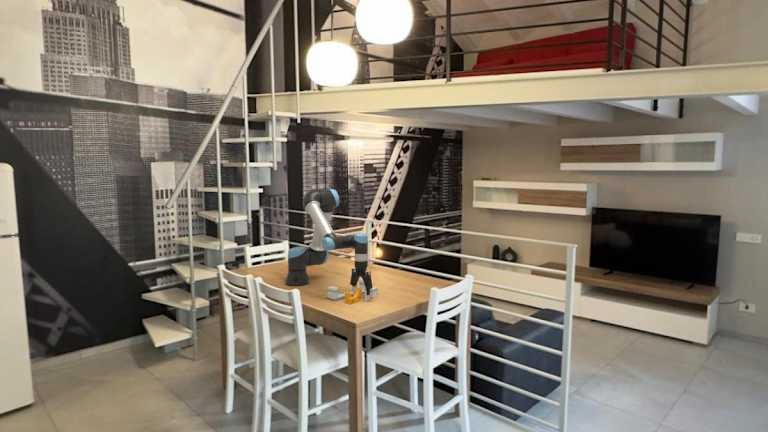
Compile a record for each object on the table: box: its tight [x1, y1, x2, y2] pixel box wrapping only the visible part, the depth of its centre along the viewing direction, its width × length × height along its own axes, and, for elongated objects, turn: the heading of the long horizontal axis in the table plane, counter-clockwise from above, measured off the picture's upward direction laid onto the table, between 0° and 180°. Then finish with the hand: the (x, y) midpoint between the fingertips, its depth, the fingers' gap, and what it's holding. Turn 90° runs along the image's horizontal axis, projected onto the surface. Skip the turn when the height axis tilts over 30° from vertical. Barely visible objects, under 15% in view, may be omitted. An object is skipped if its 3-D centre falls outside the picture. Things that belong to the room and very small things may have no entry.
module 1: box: [326, 285, 339, 299], centre depth 284 cm, size 6×3×6 cm, turn 45°
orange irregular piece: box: [344, 287, 363, 305], centre depth 280 cm, size 12×4×6 cm, turn 144°
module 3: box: [369, 286, 379, 299], centre depth 292 cm, size 5×5×5 cm
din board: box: [326, 290, 365, 302], centre depth 293 cm, size 8×28×1 cm, turn 136°
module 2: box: [358, 278, 366, 291], centre depth 302 cm, size 6×3×6 cm, turn 46°
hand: (361, 298), depth 285 cm, fingers open, 9 cm apart
